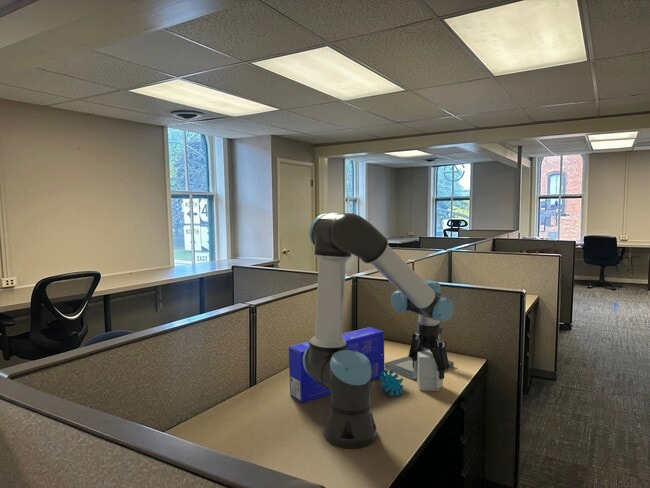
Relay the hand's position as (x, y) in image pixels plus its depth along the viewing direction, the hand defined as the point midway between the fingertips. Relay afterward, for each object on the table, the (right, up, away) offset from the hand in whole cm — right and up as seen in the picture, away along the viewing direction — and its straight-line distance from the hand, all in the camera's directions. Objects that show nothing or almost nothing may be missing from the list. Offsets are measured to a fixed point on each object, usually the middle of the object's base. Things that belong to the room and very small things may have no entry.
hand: (427, 382), depth 158 cm
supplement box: (0, -2, 0) cm, 2 cm away
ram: (+9, +8, +22) cm, 25 cm away
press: (+1, 0, +19) cm, 19 cm away
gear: (-14, -3, -4) cm, 15 cm away
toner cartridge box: (-33, -2, +1) cm, 33 cm away
